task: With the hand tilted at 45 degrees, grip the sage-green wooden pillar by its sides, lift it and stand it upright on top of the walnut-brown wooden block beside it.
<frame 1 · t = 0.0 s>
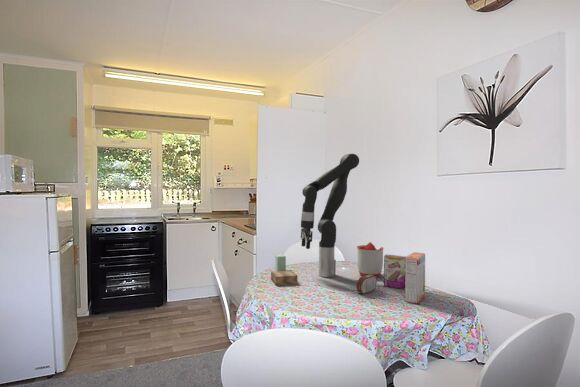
hand: (305, 247, 196), 17 cm above the table, tool pointing down, fingers open, 8 cm apart
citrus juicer: (370, 275, 201), on the table
cracker box: (415, 299, 158), on the table
tin: (367, 292, 168), on the table
green pillar: (280, 276, 197), on the table
candy bar box: (394, 287, 178), on the table
wooden block: (283, 282, 185), on the table
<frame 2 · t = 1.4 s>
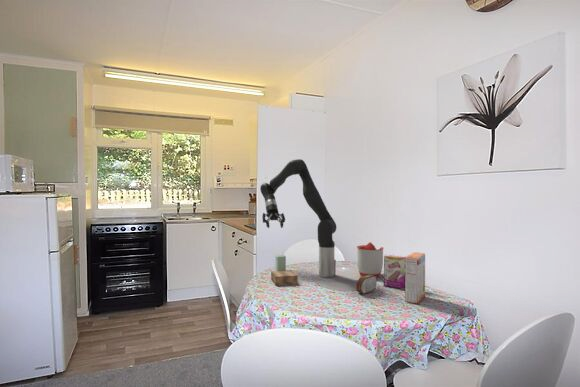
hand: (275, 227, 209), 27 cm above the table, tool tilted 45°, fingers open, 8 cm apart
nothing on the table moved.
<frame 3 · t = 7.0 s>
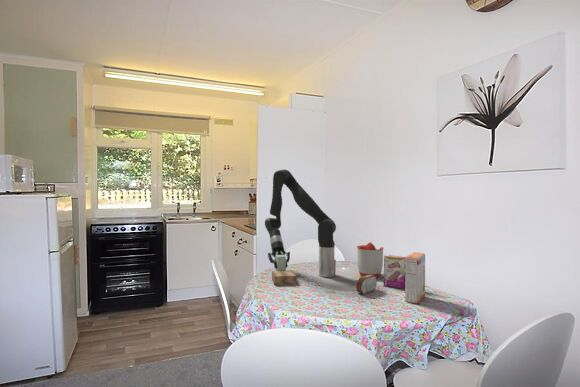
hand: (281, 267, 195), 5 cm above the table, tool tilted 45°, fingers closed on green pillar, 5 cm apart
green pillar: (280, 276, 197), on the table, touching gripper
everything else where it was.
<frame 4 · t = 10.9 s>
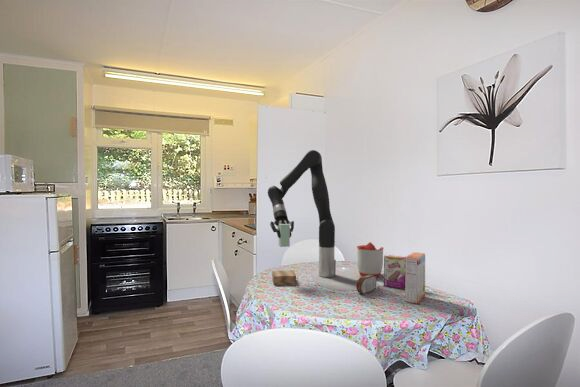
hand: (284, 237, 183), 25 cm above the table, tool tilted 45°, fingers closed on green pillar, 5 cm apart
green pillar: (284, 245, 185), point 20 cm above the table, touching gripper
everything else where it was.
when the fingers open (12 cm above the table, at t = 14.9 s): green pillar drops 2 cm, resting on wooden block.
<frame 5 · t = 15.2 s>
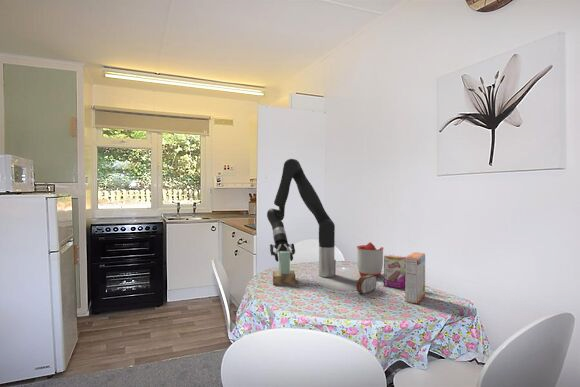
hand: (284, 260, 184), 12 cm above the table, tool tilted 45°, fingers open, 7 cm apart
green pillar: (284, 273, 185), point 5 cm above the table, touching wooden block
wooden block: (283, 282, 185), on the table, touching green pillar
everything else where it was.
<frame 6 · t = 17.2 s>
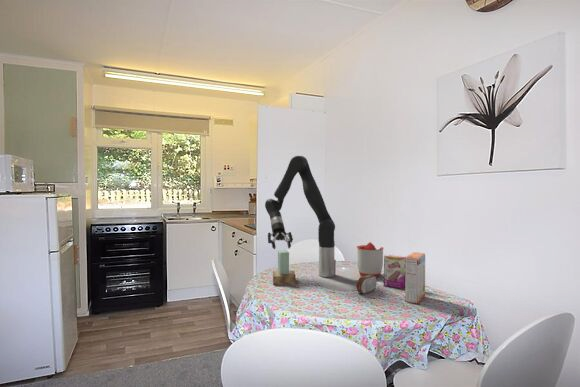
hand: (282, 248, 190), 18 cm above the table, tool tilted 45°, fingers open, 8 cm apart
nothing on the table moved.
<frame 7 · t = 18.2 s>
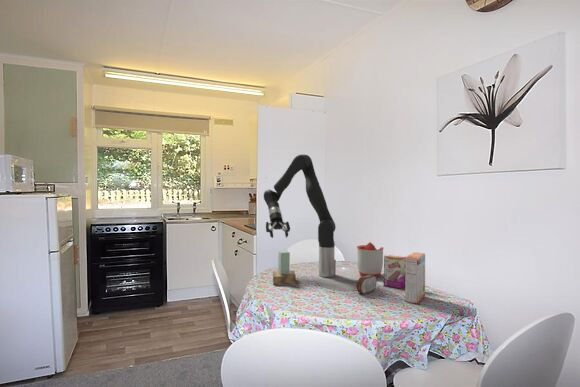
hand: (279, 236, 195), 23 cm above the table, tool tilted 45°, fingers open, 8 cm apart
green pillar: (283, 273, 186), point 5 cm above the table
wooden block: (284, 282, 185), on the table
everything else where it was.
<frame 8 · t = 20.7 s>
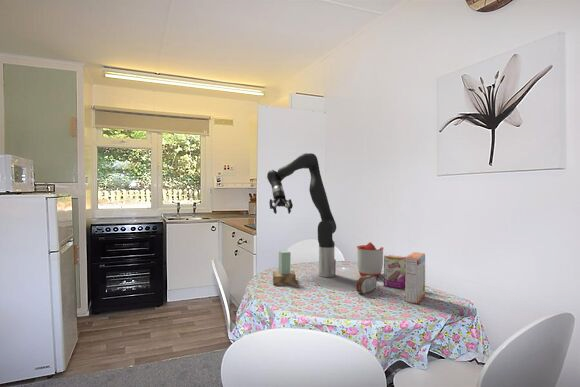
hand: (282, 212, 205), 37 cm above the table, tool tilted 45°, fingers open, 8 cm apart
green pillar: (284, 273, 185), point 5 cm above the table, touching wooden block
wooden block: (283, 282, 185), on the table, touching green pillar
everything else where it was.
at the end: green pillar inside the target area on the wooden block (0.3 cm from its centre), point 5.0 cm above the wooden block's base; green pillar tilted 1°; the gripper is holding nothing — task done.
